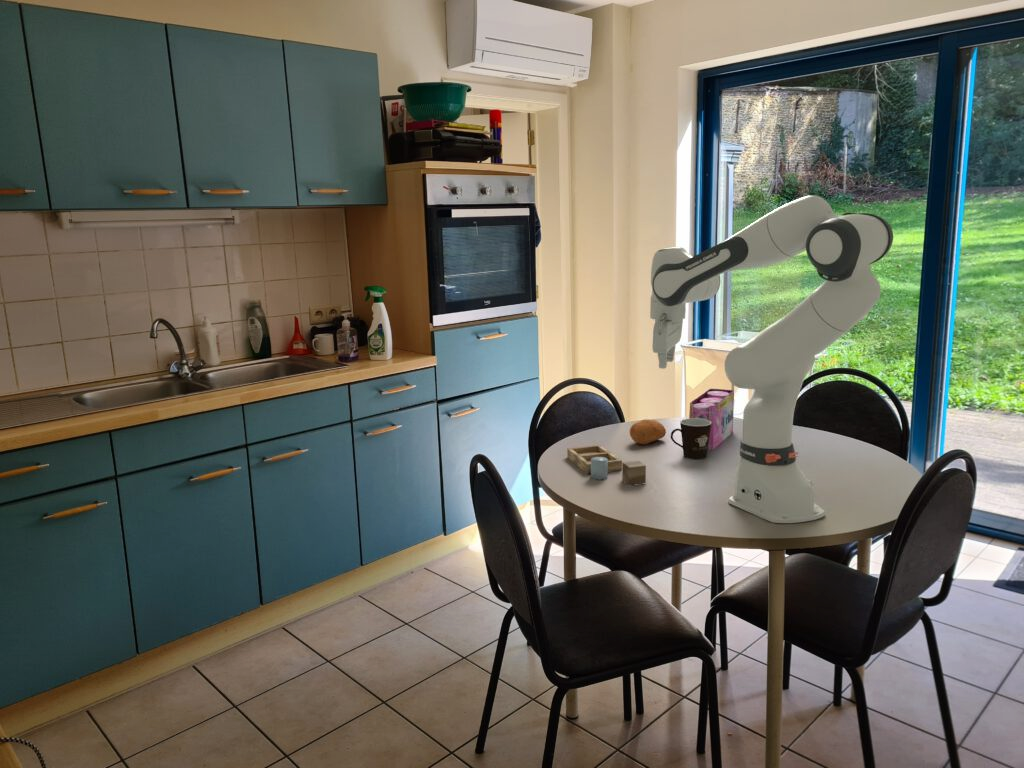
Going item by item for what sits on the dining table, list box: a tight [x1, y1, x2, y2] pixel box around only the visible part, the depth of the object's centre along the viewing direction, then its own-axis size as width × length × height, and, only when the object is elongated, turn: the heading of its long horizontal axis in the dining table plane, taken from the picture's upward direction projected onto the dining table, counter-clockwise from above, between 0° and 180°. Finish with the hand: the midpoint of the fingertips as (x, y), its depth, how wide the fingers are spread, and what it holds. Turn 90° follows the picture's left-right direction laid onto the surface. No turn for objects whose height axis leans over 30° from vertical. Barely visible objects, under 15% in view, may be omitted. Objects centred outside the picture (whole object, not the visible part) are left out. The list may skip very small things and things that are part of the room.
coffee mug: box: [670, 418, 711, 460], centre depth 219 cm, size 12×9×10 cm
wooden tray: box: [566, 444, 623, 475], centre depth 215 cm, size 16×10×3 cm, turn 15°
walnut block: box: [621, 460, 647, 486], centre depth 199 cm, size 4×4×5 cm
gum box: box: [688, 388, 735, 451], centre depth 234 cm, size 24×8×14 cm, turn 150°
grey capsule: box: [590, 457, 609, 481], centre depth 203 cm, size 4×4×5 cm
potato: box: [629, 419, 667, 446], centre depth 234 cm, size 7×13×7 cm, turn 123°
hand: (666, 364), depth 200 cm, fingers open, 8 cm apart
